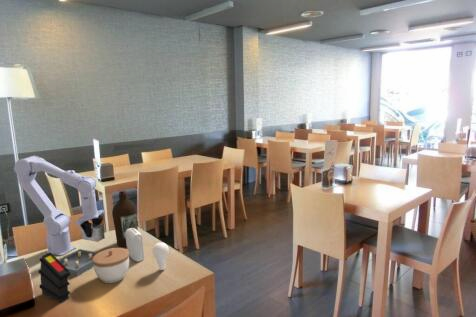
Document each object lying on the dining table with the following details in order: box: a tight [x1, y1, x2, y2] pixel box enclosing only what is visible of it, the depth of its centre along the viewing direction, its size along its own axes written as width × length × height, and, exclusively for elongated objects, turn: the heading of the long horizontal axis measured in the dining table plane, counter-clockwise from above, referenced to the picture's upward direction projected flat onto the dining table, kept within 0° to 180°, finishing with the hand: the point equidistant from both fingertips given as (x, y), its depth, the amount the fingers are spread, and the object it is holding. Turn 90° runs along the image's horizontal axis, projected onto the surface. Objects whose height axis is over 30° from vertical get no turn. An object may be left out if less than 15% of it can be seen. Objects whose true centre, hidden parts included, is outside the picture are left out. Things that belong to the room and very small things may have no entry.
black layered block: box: [38, 253, 72, 303], centre depth 112 cm, size 4×13×15 cm, turn 60°
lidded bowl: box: [92, 247, 130, 284], centre depth 122 cm, size 13×13×11 cm
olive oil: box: [111, 189, 139, 248], centre depth 151 cm, size 11×11×25 cm
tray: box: [58, 248, 98, 277], centre depth 134 cm, size 14×14×4 cm
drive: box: [80, 223, 105, 243], centre depth 146 cm, size 9×4×6 cm, turn 67°
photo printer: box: [125, 228, 145, 262], centre depth 138 cm, size 10×4×12 cm, turn 39°
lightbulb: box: [152, 242, 170, 271], centre depth 127 cm, size 6×6×11 cm
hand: (92, 234), depth 146 cm, fingers closed on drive, 4 cm apart
